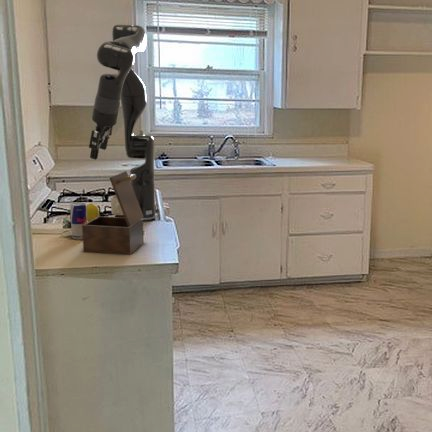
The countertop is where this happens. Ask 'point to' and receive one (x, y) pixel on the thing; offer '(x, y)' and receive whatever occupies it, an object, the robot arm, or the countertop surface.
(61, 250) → the countertop surface
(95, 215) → the lemon
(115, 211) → the character mug
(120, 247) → the compartment
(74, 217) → the energy drink
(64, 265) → the countertop surface
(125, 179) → the lid
